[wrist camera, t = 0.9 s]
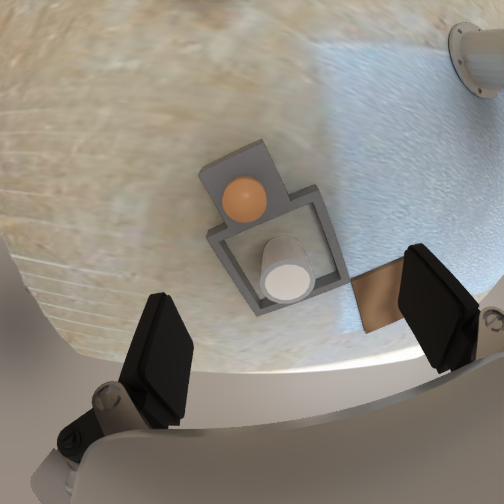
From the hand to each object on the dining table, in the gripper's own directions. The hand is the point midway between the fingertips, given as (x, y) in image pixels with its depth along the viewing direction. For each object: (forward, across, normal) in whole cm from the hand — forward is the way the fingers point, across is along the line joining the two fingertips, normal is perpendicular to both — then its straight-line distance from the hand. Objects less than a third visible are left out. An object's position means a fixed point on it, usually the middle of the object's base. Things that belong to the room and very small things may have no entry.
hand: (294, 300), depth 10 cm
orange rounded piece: (+22, +2, +2) cm, 22 cm away
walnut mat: (+25, -20, +25) cm, 40 cm away
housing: (+26, 0, +9) cm, 27 cm away
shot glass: (+26, -1, +13) cm, 29 cm away
